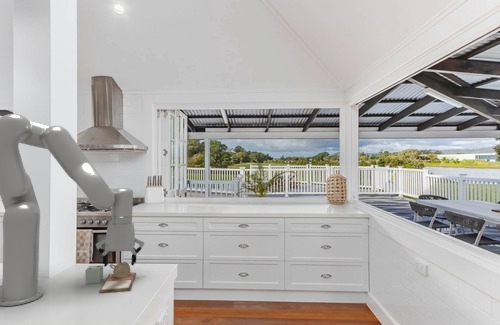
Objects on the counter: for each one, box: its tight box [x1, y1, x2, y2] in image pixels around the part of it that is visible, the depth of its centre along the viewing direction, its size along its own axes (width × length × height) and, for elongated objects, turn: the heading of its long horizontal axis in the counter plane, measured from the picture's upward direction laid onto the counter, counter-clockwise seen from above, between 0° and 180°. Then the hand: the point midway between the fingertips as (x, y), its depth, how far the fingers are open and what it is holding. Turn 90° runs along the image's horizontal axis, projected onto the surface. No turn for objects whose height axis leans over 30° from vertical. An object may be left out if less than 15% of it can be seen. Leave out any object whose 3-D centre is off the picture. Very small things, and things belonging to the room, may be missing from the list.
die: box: [84, 264, 104, 285], centre depth 117 cm, size 5×5×5 cm
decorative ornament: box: [108, 261, 132, 278], centre depth 119 cm, size 4×8×5 cm, turn 129°
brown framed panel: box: [98, 272, 137, 294], centre depth 115 cm, size 10×16×1 cm, turn 14°
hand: (119, 265), depth 118 cm, fingers open, 9 cm apart
